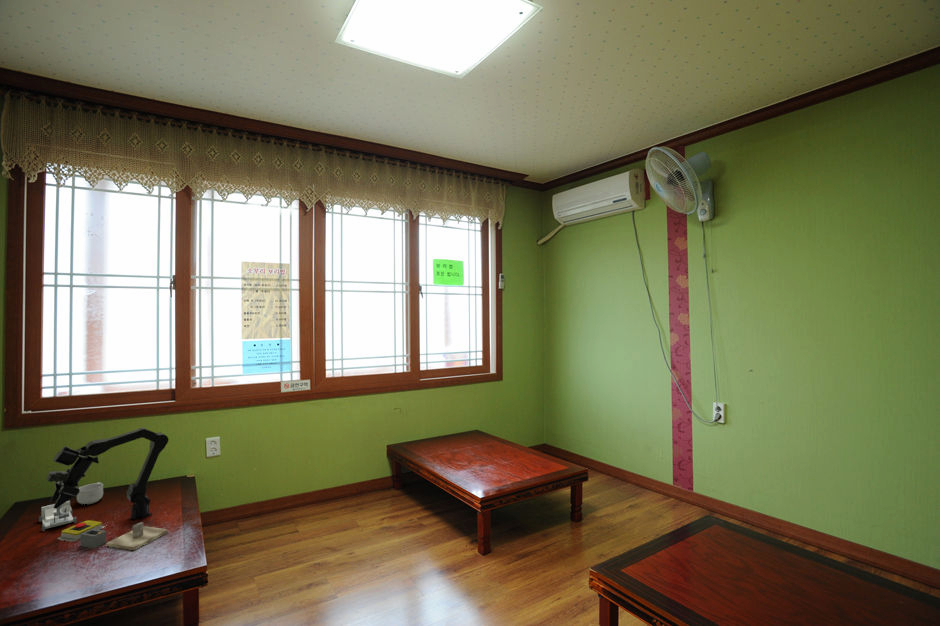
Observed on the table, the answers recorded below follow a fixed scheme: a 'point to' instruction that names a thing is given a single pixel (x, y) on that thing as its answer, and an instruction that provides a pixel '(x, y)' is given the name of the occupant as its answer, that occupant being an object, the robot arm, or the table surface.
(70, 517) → the white mechanical fixture
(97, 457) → the robot arm
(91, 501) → the teacup
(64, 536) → the emergency button
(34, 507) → the table surface
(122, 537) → the switch plate
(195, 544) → the table surface
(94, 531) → the grey open bin
